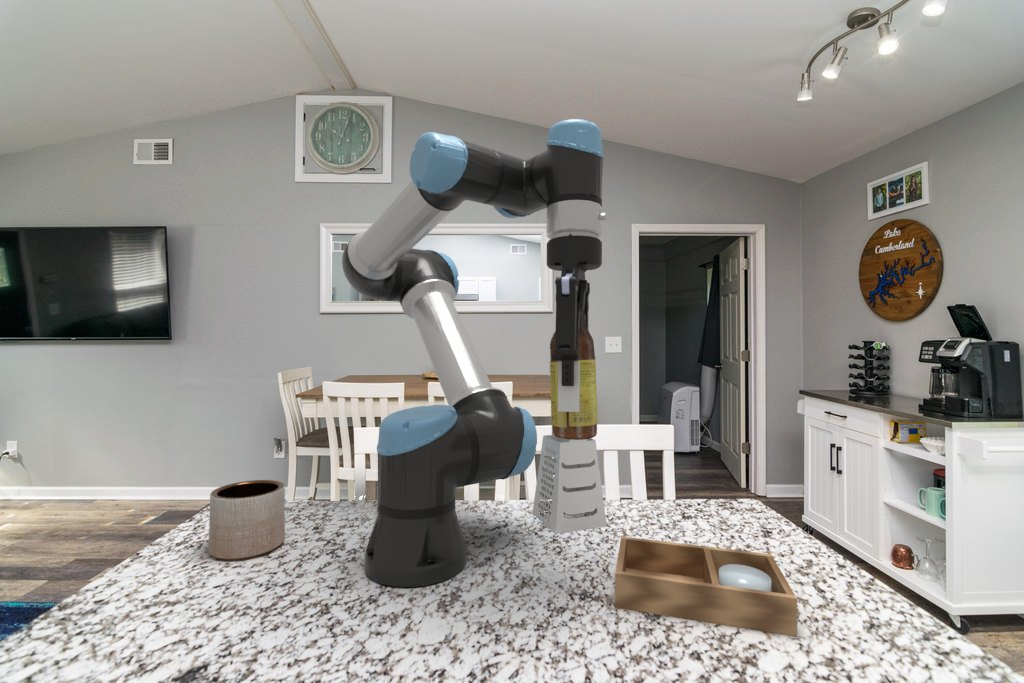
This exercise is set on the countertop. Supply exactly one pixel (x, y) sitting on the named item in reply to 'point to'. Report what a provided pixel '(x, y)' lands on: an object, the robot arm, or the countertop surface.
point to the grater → (569, 485)
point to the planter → (246, 519)
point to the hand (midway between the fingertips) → (573, 407)
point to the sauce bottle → (586, 418)
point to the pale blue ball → (744, 577)
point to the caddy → (701, 586)
